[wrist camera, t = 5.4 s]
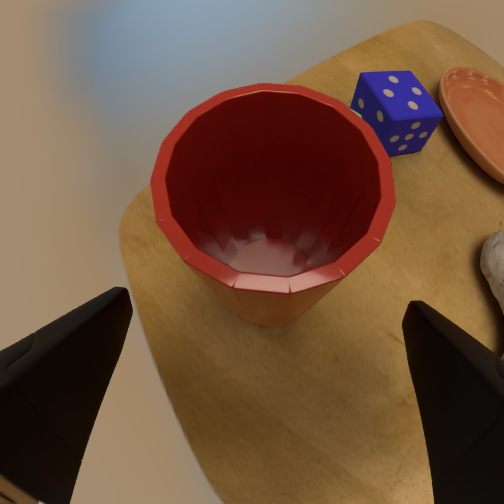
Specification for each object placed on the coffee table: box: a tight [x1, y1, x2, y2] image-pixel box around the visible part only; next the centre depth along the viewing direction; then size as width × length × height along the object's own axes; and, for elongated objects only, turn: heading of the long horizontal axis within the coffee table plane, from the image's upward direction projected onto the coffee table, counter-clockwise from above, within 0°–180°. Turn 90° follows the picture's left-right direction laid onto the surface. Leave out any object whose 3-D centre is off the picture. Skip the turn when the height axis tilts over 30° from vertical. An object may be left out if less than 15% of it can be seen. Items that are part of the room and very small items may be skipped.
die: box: [350, 71, 443, 156], centre depth 20 cm, size 5×5×5 cm
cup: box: [150, 83, 396, 328], centre depth 13 cm, size 6×6×13 cm
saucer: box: [438, 66, 504, 185], centre depth 21 cm, size 16×16×3 cm
